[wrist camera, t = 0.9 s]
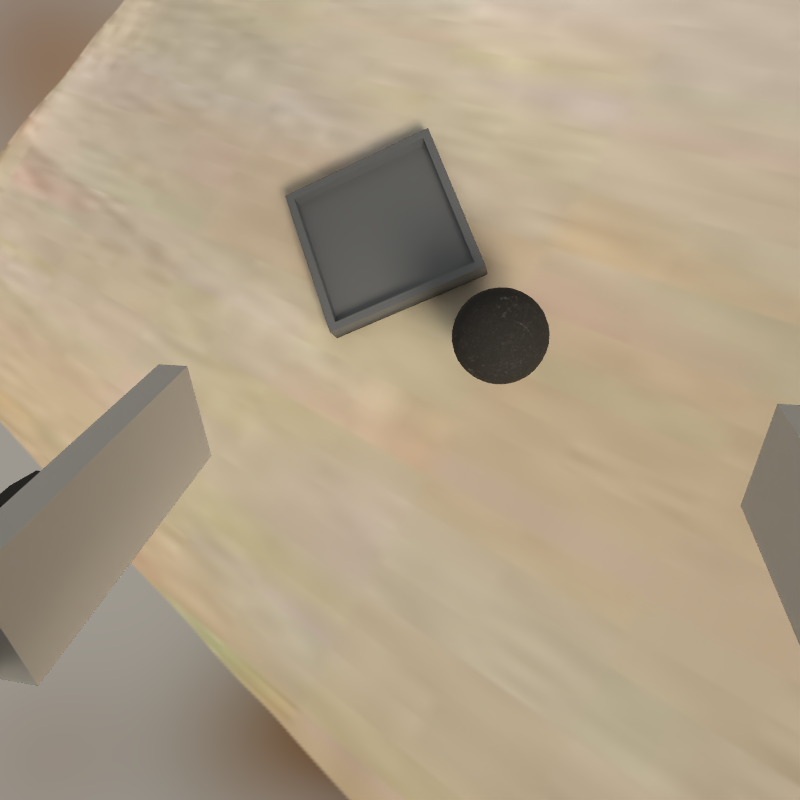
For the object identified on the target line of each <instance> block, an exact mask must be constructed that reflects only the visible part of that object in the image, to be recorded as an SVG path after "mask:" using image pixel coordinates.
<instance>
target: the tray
mask: <svg viewBox="0 0 800 800" xmlns="http://www.w3.org/2000/svg"><path fill="white" fill-rule="evenodd" d="M286 199H287V202H288V205H289V208H290V211H291V214H292V217H293V220H294V223H295V226H296V229H297V233H298V236H299V239H300V242H301V245H302V248H303V251H304V254H305V257H306V260H307V263H308V266H309V269H310V272H311V275H312V278H313V281H314V284H315V287H316V290H317V294H318V297H319V300H320V303H321V306H322V309H323V312H324V315H325V318H326V321H327V324H328V327H329V330H330V333H332V334H333V335H334V336H335V337H337V338H338V337H341V336H343V335H345V334H348V333H350V332H352V331H355V330H357V329H360V328H362V327H364V326H367V325H369V324H371V323H374V322H376V321H378V320H381V319H383V318H385V317H388V316H390V315H392V314H395V313H397V312H399V311H402V310H404V309H406V308H409V307H411V306H414V305H416V304H418V303H421V302H423V301H425V300H428V299H430V298H432V297H435V296H437V295H439V294H442V293H444V292H446V291H449V290H451V289H453V288H456V287H458V286H460V285H463V284H465V283H468V282H470V281H472V280H475V279H477V278H479V277H482V276H484V275H486V274H487V270H486V267H485V264H484V261H483V259H482V257H481V254H480V252H479V249H478V247H477V245H476V242H475V240H474V237H473V235H472V233H471V230H470V228H469V225H468V223H467V221H466V218H465V216H464V213H463V211H462V209H461V206H460V204H459V201H458V199H457V197H456V194H455V192H454V189H453V187H452V185H451V182H450V180H449V177H448V175H447V173H446V170H445V168H444V165H443V163H442V161H441V158H440V156H439V153H438V151H437V149H436V146H435V144H434V141H433V139H432V137H431V134H430V132H429V129H428V128H427V129H425V130H423V131H421V132H419V133H417V134H414V135H412V136H410V137H408V138H406V139H404V140H402V141H400V142H398V143H396V144H393V145H391V146H389V147H387V148H385V149H383V150H381V151H379V152H377V153H375V154H373V155H370V156H368V157H366V158H364V159H362V160H360V161H358V162H356V163H354V164H352V165H350V166H347V167H345V168H343V169H341V170H339V171H337V172H335V173H333V174H331V175H329V176H327V177H324V178H322V179H320V180H318V181H316V182H314V183H312V184H310V185H308V186H306V187H303V188H301V189H299V190H297V191H295V192H293V193H291V194H289V195H287V196H286Z"/></svg>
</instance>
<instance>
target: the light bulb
mask: <svg viewBox="0 0 800 800" xmlns="http://www.w3.org/2000/svg"><path fill="white" fill-rule="evenodd" d="M452 343H453V348H454V352H455V354H456V357H457V359H458V361H459V362H460V364H461V365H462V366H463V367H464V369H465V370H466V371H467V372H469V373H470V374H471V375H473V376H474V377H476V378H477V379H480V380H482V381H485V382H487V383H492V384H507V383H512V382H516V381H518V380H520V379H522V378H525V377H526V376H528V375H529V374H530V373H531V372H533V371H534V370H535V369H536V367H538V365H539V364H540V362H541V361H542V359H543V357H544V355H545V353H546V351H547V347H548V344H549V326H548V323H547V320H546V317H545V314H544V312H543V311H542V309H541V308H540V306H539V305H538V304H537V303H536V302H535V301H534V300H533V299H532V298H531V297H529V296H528V295H526V294H524V293H523V292H521V291H518V290H515V289H512V288H493V289H488V290H485V291H482V292H480V293H478V294H476V295H474V296H473V297H472V298H470V299H469V300H468V301H467V302H466V303H465V304H464V305H463V306H462V308H461V310H460V311H459V313H458V315H457V317H456V319H455V322H454V326H453V330H452Z"/></svg>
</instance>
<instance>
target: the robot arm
mask: <svg viewBox="0 0 800 800" xmlns="http://www.w3.org/2000/svg"><path fill="white" fill-rule="evenodd" d="M210 457H211V452H210V448H209V445H208V441H207V437H206V434H205V430H204V426H203V423H202V419H201V415H200V412H199V408H198V404H197V401H196V397H195V393H194V390H193V386H192V382H191V379H190V375H189V371H188V368H187V366H175V365H160V364H159V365H158V366H157V367H156V368H154V369H153V370H152V371H151V372H150V373H149V374H148V375H147V376H146V377H144V378H143V379H142V380H141V381H140V382H139V383H138V384H137V385H136V386H134V387H133V388H132V389H131V390H130V391H129V392H128V393H127V394H126V395H124V396H123V397H122V398H121V399H120V400H119V401H118V402H117V403H116V404H115V405H113V406H112V407H111V408H110V409H109V410H108V411H107V412H106V413H105V414H103V415H102V416H101V417H100V418H99V419H98V420H97V421H96V422H95V423H93V424H92V425H91V426H90V427H89V428H88V429H87V430H86V431H85V432H84V433H82V434H81V435H80V436H79V437H78V438H77V439H76V440H75V441H74V442H72V443H71V444H70V445H69V446H68V447H67V448H66V449H65V450H64V451H62V452H61V453H60V454H59V455H58V456H57V457H56V458H55V459H54V460H52V461H51V462H50V463H49V464H48V465H47V466H46V467H45V468H44V469H43V470H41V471H35V472H33V473H31V474H30V475H28V476H26V477H24V478H22V479H21V480H19V481H17V482H16V483H14V484H12V485H10V486H9V487H8V488H7V489H5V491H3V492H2V493H1V494H0V678H1V679H4V680H9V681H15V682H20V683H25V684H30V685H36V686H38V685H39V684H40V682H41V681H42V680H43V679H44V677H45V676H46V675H47V673H48V672H49V671H50V669H51V668H52V667H53V665H54V664H55V663H56V661H57V660H58V659H59V657H60V656H61V655H62V653H63V652H64V651H65V649H66V648H67V647H68V645H69V644H70V643H71V641H72V640H73V639H74V637H75V636H76V635H77V633H78V632H79V631H80V629H81V628H82V627H83V626H84V624H85V623H86V621H87V620H88V619H89V618H90V616H91V615H92V613H93V612H94V611H95V610H96V608H97V607H98V606H99V604H100V603H101V602H102V600H103V599H104V598H105V596H106V595H107V594H108V592H109V591H110V590H111V588H112V587H113V586H114V584H115V583H116V582H117V580H118V579H119V578H120V576H121V575H122V573H123V572H124V571H125V570H126V568H127V567H128V566H129V564H130V563H131V562H132V560H133V559H134V558H135V556H136V555H137V554H138V552H139V551H140V550H141V548H142V547H143V546H144V544H145V543H146V542H147V540H148V539H149V538H150V537H151V535H152V534H153V533H154V531H155V530H156V529H157V527H158V526H159V525H160V523H161V522H162V521H163V519H164V518H165V517H166V515H167V514H168V513H169V511H170V510H171V509H172V507H173V506H174V505H175V503H176V502H177V501H178V499H179V498H180V497H181V495H182V494H183V493H184V491H185V490H186V489H187V487H188V486H189V485H190V483H191V482H192V481H193V479H194V478H195V477H196V475H197V474H198V473H199V471H200V470H201V469H202V467H203V466H204V465H205V463H206V462H207V461H208V459H209V458H210ZM741 507H742V510H743V512H744V514H745V517H746V519H747V521H748V524H749V526H750V528H751V531H752V533H753V536H754V538H755V540H756V543H757V545H758V547H759V550H760V552H761V554H762V557H763V559H764V562H765V564H766V566H767V569H768V571H769V573H770V576H771V578H772V581H773V583H774V585H775V588H776V590H777V592H778V595H779V597H780V599H781V602H782V604H783V607H784V609H785V611H786V614H787V616H788V618H789V621H790V623H791V625H792V628H793V630H794V633H795V635H796V637H797V640H798V642H799V644H800V405H787V404H777V407H776V410H775V412H774V415H773V418H772V421H771V423H770V426H769V429H768V432H767V434H766V437H765V440H764V443H763V445H762V448H761V451H760V454H759V457H758V459H757V462H756V465H755V468H754V470H753V473H752V476H751V479H750V481H749V484H748V487H747V490H746V492H745V495H744V498H743V501H742V503H741Z"/></svg>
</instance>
